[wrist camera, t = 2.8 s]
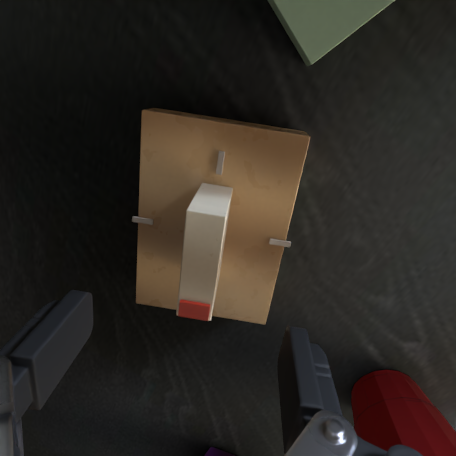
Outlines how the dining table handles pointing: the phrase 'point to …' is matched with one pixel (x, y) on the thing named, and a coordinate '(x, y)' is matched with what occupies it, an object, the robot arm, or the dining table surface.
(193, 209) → the knob
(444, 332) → the dining table surface
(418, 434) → the plastic cup
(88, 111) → the dining table surface
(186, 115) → the panel
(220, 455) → the perfume bottle
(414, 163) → the dining table surface
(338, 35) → the button box
